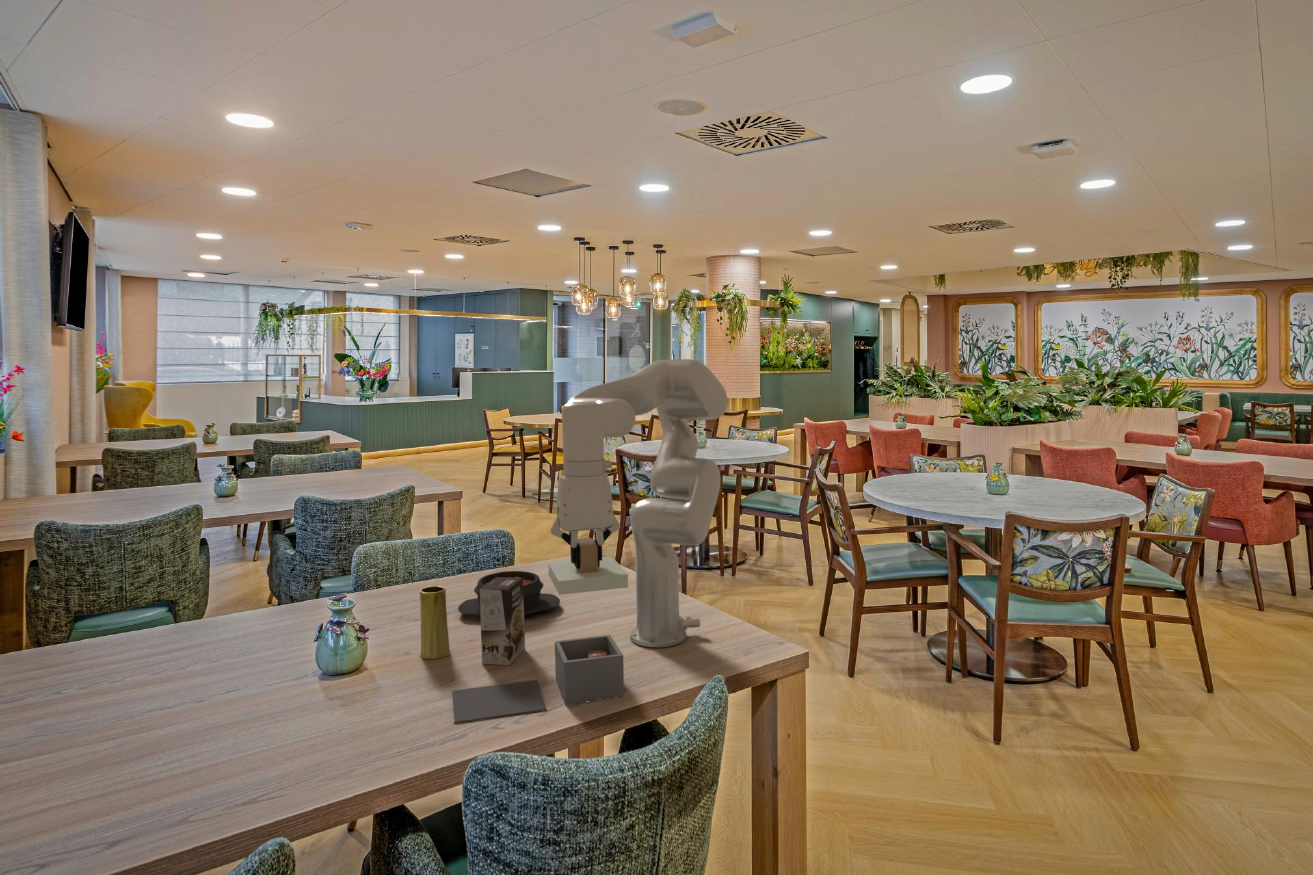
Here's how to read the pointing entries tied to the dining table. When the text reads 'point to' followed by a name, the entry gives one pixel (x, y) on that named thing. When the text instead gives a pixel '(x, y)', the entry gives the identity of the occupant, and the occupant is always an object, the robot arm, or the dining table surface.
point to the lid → (587, 572)
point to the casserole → (531, 594)
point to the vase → (434, 623)
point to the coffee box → (502, 620)
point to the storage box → (589, 669)
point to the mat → (497, 701)
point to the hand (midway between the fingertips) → (586, 564)
